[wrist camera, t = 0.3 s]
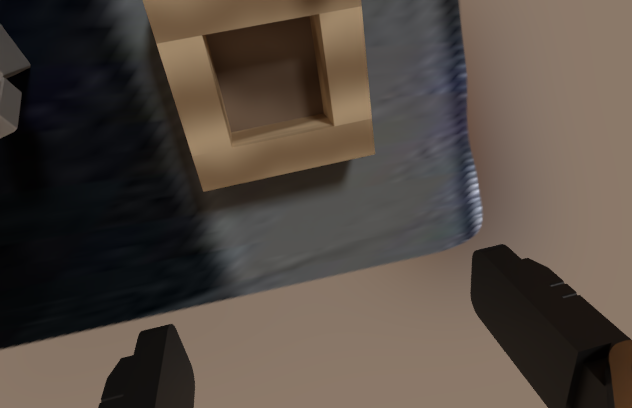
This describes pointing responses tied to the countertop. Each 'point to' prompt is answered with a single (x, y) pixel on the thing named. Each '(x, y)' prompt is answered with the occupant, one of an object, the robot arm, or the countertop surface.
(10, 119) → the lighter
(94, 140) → the countertop surface
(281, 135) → the block
